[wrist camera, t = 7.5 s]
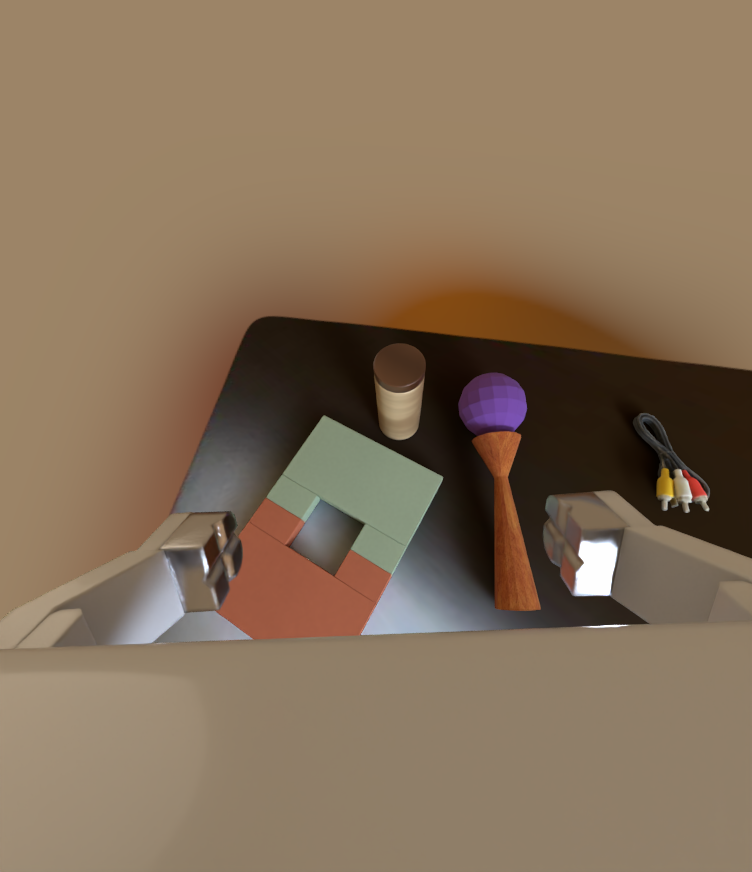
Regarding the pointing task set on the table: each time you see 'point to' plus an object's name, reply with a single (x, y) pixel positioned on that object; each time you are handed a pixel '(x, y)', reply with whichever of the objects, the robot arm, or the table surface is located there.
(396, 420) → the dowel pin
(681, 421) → the table surface
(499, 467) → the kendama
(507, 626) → the table surface
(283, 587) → the terracotta pad
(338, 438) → the sage pad
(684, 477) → the composite cable
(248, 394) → the table surface
